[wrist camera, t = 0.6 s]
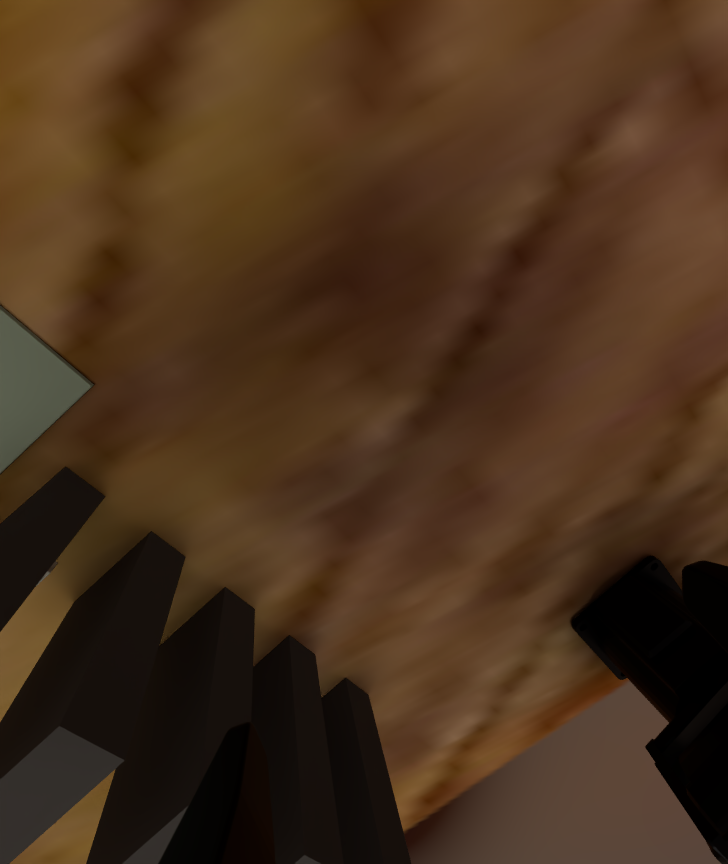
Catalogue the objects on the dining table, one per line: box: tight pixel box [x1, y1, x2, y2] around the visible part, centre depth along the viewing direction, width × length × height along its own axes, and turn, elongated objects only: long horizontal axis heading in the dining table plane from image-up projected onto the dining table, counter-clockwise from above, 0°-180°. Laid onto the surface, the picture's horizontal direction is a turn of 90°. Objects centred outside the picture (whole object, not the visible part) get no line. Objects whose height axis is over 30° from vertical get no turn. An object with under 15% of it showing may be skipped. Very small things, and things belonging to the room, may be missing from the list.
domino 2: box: [86, 587, 255, 864], centre depth 18 cm, size 2×5×10 cm, turn 131°
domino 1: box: [0, 531, 185, 864], centre depth 17 cm, size 2×5×10 cm, turn 131°
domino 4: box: [321, 678, 411, 864], centre depth 21 cm, size 2×5×10 cm, turn 131°
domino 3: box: [251, 635, 344, 864], centre depth 20 cm, size 2×5×10 cm, turn 131°
